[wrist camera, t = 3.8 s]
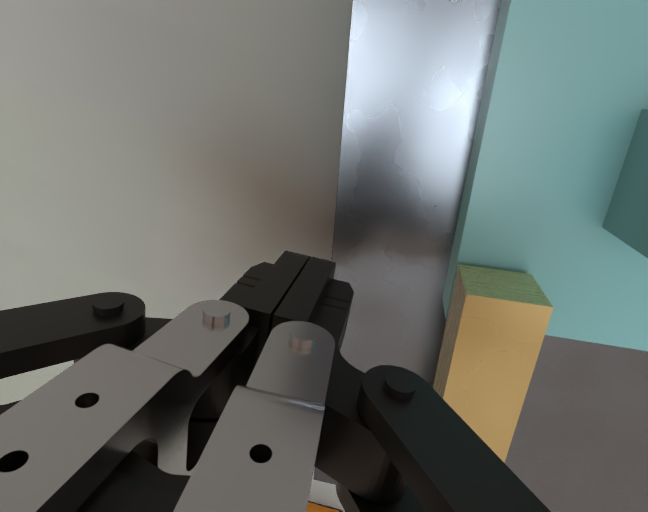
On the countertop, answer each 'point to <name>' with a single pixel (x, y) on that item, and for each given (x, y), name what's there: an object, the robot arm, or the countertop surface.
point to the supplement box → (318, 508)
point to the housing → (436, 246)
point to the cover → (565, 165)
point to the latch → (491, 349)
